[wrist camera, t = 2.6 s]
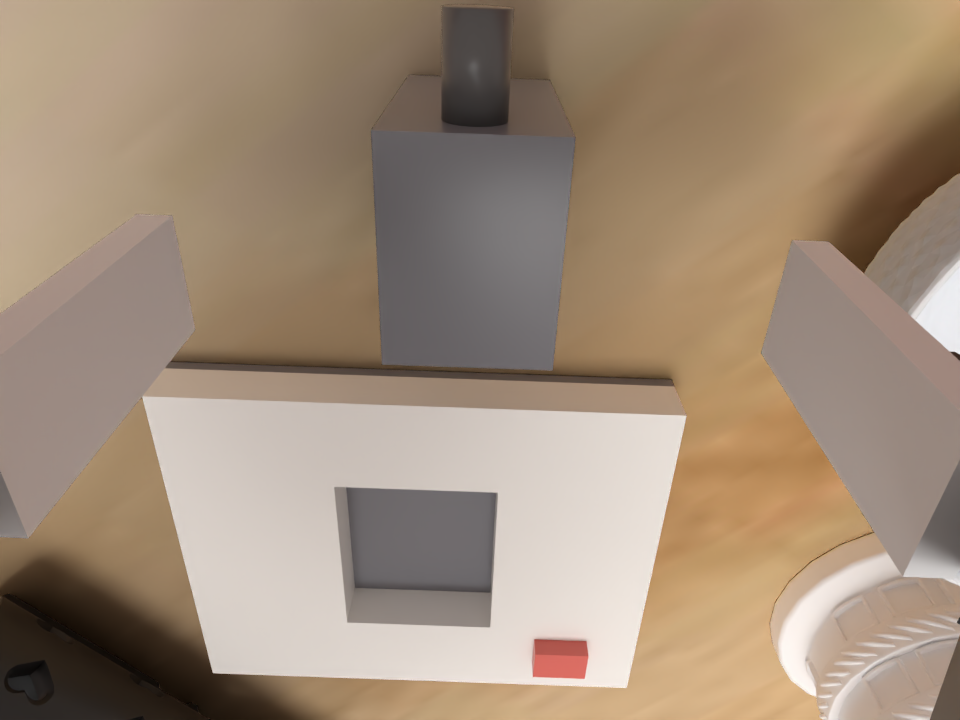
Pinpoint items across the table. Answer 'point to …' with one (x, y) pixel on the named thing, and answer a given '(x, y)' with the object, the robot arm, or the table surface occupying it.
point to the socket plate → (416, 518)
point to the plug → (471, 206)
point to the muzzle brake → (71, 675)
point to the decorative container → (866, 634)
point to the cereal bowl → (926, 268)
